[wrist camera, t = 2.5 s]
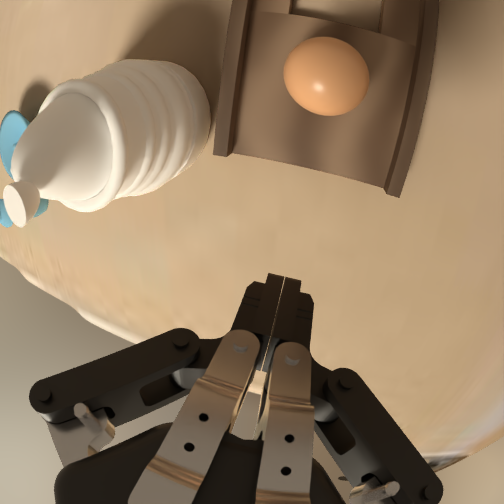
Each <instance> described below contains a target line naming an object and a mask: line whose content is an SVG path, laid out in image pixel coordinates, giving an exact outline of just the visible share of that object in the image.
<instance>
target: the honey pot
mask: <svg viewBox="0 0 504 504" xmlns="http://www.w3.org/2000/svg"><path fill="white" fill-rule="evenodd" d="M210 125H211V118H210V105H209V102H208V99H207V96H206V93H205V90H204V89H203V87H202V86H201V84H200V83H199V81H198V80H197V78H196V77H195V76H194V75H193V74H191V73H190V72H189V71H188V70H187V69H185V68H184V67H182V66H180V65H177V64H175V63H172V62H169V61H157V60H142V59H125V60H122V61H118V62H115V63H112V64H109V65H107V66H105V67H104V68H102V69H101V70H99V71H96V72H95V73H93V74H91V75H88V76H85V77H84V78H82V79H71V80H68V81H66V82H64V83H61V84H59V85H58V86H57V87H56V88H54V89H53V90H52V91H51V92H50V93H49V94H48V96H47V97H46V99H45V100H44V102H43V103H42V105H41V107H40V110H39V113H38V115H37V116H36V117H35V119H34V120H33V121H32V122H31V123H30V124H29V125H28V127H27V128H26V129H25V131H24V132H23V134H22V136H21V137H20V139H19V141H18V143H17V145H16V147H15V149H14V152H13V156H12V160H11V169H10V171H11V173H12V176H13V179H14V181H15V182H14V183H11V184H9V185H7V186H6V187H5V188H4V192H3V199H4V205H5V208H6V211H7V213H8V215H9V217H10V219H11V220H12V222H13V223H14V224H15V225H16V226H18V227H24V226H25V225H26V224H27V223H28V222H29V221H30V220H31V219H32V218H33V217H34V215H35V213H36V212H37V210H38V207H39V204H40V198H44V199H50V200H59V201H60V202H61V203H63V204H64V205H65V206H67V207H69V208H71V209H74V210H76V211H79V212H93V211H96V210H98V209H101V208H104V207H105V206H106V205H107V204H108V203H110V202H111V201H112V200H113V199H117V198H120V197H127V196H139V195H142V194H145V193H148V192H152V191H155V190H156V189H158V188H159V187H161V186H162V185H164V184H165V183H167V182H168V181H169V180H171V179H172V178H174V177H175V176H177V175H178V174H180V173H181V172H183V171H184V170H186V169H187V168H189V167H190V166H191V165H192V164H193V163H194V162H195V161H196V159H197V158H198V157H199V156H200V155H201V153H202V151H203V149H204V147H205V144H206V142H207V140H208V135H209V130H210Z"/></svg>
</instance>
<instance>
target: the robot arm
mask: <svg viewBox="0 0 504 504" xmlns="http://www.w3.org/2000/svg"><path fill="white" fill-rule="evenodd" d="M283 280H284V276H280V275H275V274H271V273H268V276H267V280H266V283H265V284H264V283H260V282H256V281H254V282H253V283H252V284H250V285H249V286H248V287H247V289H246V291H245V294H244V297H243V299H242V302H241V304H240V307H239V310H238V312H237V315H236V317H235V320H234V323H233V325H232V328H231V330H230V331H229V332H228V333H227V334H226V335H225V336H223V337H221V338H217V339H199V337H198V336H197V334H196V333H194V332H193V331H191V330H189V329H185V328H176V329H173V330H170V331H168V332H165V333H163V334H160V335H158V336H155V337H153V338H151V339H148V340H146V341H143V342H141V343H138V344H136V345H133V346H131V347H128V348H126V349H123V350H121V351H118V352H116V353H113V354H110V355H108V356H105V357H103V358H100V359H97V360H94V361H92V362H89V363H86V364H84V365H81V366H78V367H76V368H73V369H70V370H67V371H65V372H62V373H59V374H56V375H53V376H51V377H48V378H45V379H42V380H39V381H38V382H36V383H35V384H34V385H33V386H32V388H31V390H30V394H29V400H30V403H31V405H32V407H33V408H34V409H35V410H36V411H37V412H38V413H39V414H40V415H41V416H42V418H43V419H44V420H45V421H46V422H47V425H48V427H49V431H50V433H51V436H52V439H53V442H54V444H55V447H56V450H57V452H58V455H59V457H60V459H61V462H62V464H63V466H64V468H63V469H62V470H61V471H60V472H59V474H58V476H57V478H56V480H55V486H54V492H55V493H54V494H55V502H56V504H346V503H345V502H344V500H343V498H342V497H341V495H340V494H339V492H338V491H337V489H336V487H335V486H334V484H333V483H332V481H331V479H330V478H329V476H328V475H327V473H326V471H325V470H324V468H323V467H322V466H321V465H320V464H319V463H318V462H317V461H316V460H315V459H314V458H313V457H312V455H313V439H314V431H315V432H316V434H317V435H318V437H319V438H320V440H321V441H322V443H323V444H324V446H325V447H326V449H327V450H328V452H329V453H330V455H331V456H332V458H333V459H334V461H335V462H336V464H337V465H338V466H339V468H340V469H341V471H342V472H343V474H344V475H345V477H346V478H347V479H348V481H349V482H350V484H351V485H352V486H353V490H352V491H351V493H350V496H349V503H350V504H438V503H439V502H440V500H441V498H442V495H443V485H442V483H441V481H440V479H439V478H438V477H437V476H436V474H435V473H434V471H433V470H432V469H431V468H430V466H429V465H428V464H427V462H426V461H425V460H424V458H423V457H422V456H421V455H420V453H419V452H418V451H417V449H416V448H415V447H414V445H413V444H412V443H411V442H410V440H409V439H408V438H407V436H406V435H405V434H404V433H403V431H402V430H401V429H400V427H399V426H398V425H397V424H396V422H395V421H394V420H393V418H392V417H391V416H390V415H389V413H388V412H387V411H386V409H385V408H384V407H383V406H382V404H381V403H380V402H379V400H378V399H377V398H376V397H375V395H374V394H373V393H372V391H371V390H370V389H369V388H368V386H367V385H366V384H365V382H364V381H363V380H362V379H361V377H360V376H359V375H358V374H357V373H356V372H354V371H353V370H351V369H348V368H338V369H335V370H334V371H331V370H329V369H327V368H325V367H323V366H321V365H320V364H318V363H317V362H316V361H315V360H314V359H313V357H312V356H311V353H310V339H311V329H312V319H313V309H314V302H313V300H312V298H311V295H310V294H306V293H302V292H300V287H301V280H297V279H292V278H288V277H285V281H284V285H283ZM282 285H283V289H282ZM281 289H282V293H281ZM280 294H281V296H280ZM279 298H280V300H279ZM278 302H279V304H278ZM277 306H278V308H277ZM276 311H277V312H276ZM275 315H276V316H275ZM274 319H275V320H274ZM273 323H274V324H273ZM271 332H272V333H271ZM270 336H271V337H270ZM269 339H270V341H269ZM268 343H269V345H268ZM267 346H268V349H267ZM266 350H267V353H266ZM265 353H266V357H265ZM264 357H265V361H264V365H263V369H262V371H264V372H267V374H266V378H265V382H264V385H263V388H262V393H261V399H260V406H259V412H258V418H257V424H256V429H255V432H254V436H253V440H243V439H241V438H238V437H237V436H235V435H233V434H231V433H232V430H233V427H234V424H235V421H236V419H237V416H238V414H239V411H240V409H241V406H242V404H243V401H244V399H245V396H246V394H247V391H248V389H249V386H250V384H251V382H252V381H253V378H254V374H255V371H256V370H259V371H260V370H261V367H262V363H263V360H264ZM188 394H189V395H188ZM186 395H188V397H187V398H186V400H185V402H184V404H183V406H182V408H181V410H180V411H179V413H178V415H177V417H176V419H175V421H174V422H171V423H165V424H161V425H158V426H155V427H153V428H151V429H149V430H147V431H145V432H143V433H141V434H138V435H136V436H134V437H132V438H130V439H128V440H126V441H123V442H121V443H119V444H117V445H115V446H112V447H110V448H108V449H105V450H103V451H101V452H100V450H101V449H102V448H103V447H104V446H105V445H107V444H109V443H110V442H111V441H112V440H113V438H114V436H115V427H117V426H119V425H122V424H124V423H127V422H129V421H132V420H134V419H136V418H138V417H141V416H143V415H145V414H148V413H150V412H152V411H154V410H156V409H159V408H161V407H163V406H165V405H167V404H169V403H171V402H174V401H175V400H178V399H180V398H182V397H184V396H186Z"/></svg>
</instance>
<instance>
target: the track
mask: <svg viewBox="0 0 504 504" xmlns="http://www.w3.org/2000/svg"><path fill="white" fill-rule="evenodd" d="M292 4H293V0H233V1H232V7H231V13H230V19H229V26H228V32H227V39H226V46H225V53H224V60H223V68H222V76H221V84H220V92H219V101H218V110H217V119H216V129H215V139H214V150H213V155H218V156H224V157H227V156H228V155H230V154H231V153H234V154H240V155H246V156H252V157H257V158H262V159H268V160H273V161H278V162H283V163H287V164H292V165H297V166H301V167H305V168H310V169H314V170H318V171H322V172H326V173H330V174H334V175H338V176H342V177H346V178H350V179H353V180H357V181H361V182H364V183H368V184H371V185H374V186H378V187H381V188H384V190H385V192H386V194H388V195H391V196H395V197H398V198H399V197H400V194H401V192H402V188H403V185H404V182H405V179H406V176H407V173H408V169H409V166H410V163H411V159H412V156H413V152H414V149H415V145H416V141H417V138H418V134H419V130H420V126H421V122H422V117H423V113H424V108H425V104H426V99H427V94H428V89H429V84H430V78H431V72H432V66H433V59H434V52H435V45H436V36H437V26H438V13H439V0H382V6H381V15H380V23H379V30H378V33H376V32H373V31H369V30H366V29H362V28H359V27H355V26H351V25H347V24H342V23H338V22H333V21H329V20H324V19H318V18H312V17H306V16H300V15H292V14H291V10H292ZM315 37H332V38H336V39H339V40H342V41H344V42H346V43H348V44H349V45H351V46H352V47H353V48H355V49H356V50H357V51H358V52H359V54H360V55H361V56H362V58H363V59H364V61H365V63H366V65H367V68H368V71H369V79H370V82H369V88H368V92H367V94H366V96H365V98H364V99H363V101H362V102H361V103H360V104H359V105H358V106H357V107H356V108H354V109H353V110H351V111H349V112H347V113H345V114H342V115H337V116H324V115H319V114H315V113H313V112H310V111H308V110H306V109H305V108H303V107H302V106H300V105H299V104H298V103H297V102H296V101H295V100H294V99H293V98H292V96H291V95H290V93H289V92H288V90H287V88H286V85H285V81H284V73H283V72H284V65H285V61H286V59H287V57H288V55H289V53H290V52H291V51H292V50H293V49H294V48H295V47H296V46H297V45H298V44H300V43H301V42H303V41H305V40H308V39H310V38H315Z"/></svg>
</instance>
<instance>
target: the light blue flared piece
mask: <svg viewBox="0 0 504 504" xmlns="http://www.w3.org/2000/svg"><path fill="white" fill-rule="evenodd" d="M29 124H30V122H29V121H28V120H27V119H26V118H25V117H24V116H23V115H22V114H21V113H19V112H18V111H15V110H13V111H10V112H8V113H7V114H6V115H5V117H4V118H3V120H2V123H1V127H0V155H1V159H2V162H3V165H4V167H5V169H6V171H7V173H8V174H9V176H10V177H11V178H12V179H13V176H12V173H11V171H10V169H11V160H12V156H13V152H14V149H15V147H16V145H17V143H18V141H19V139H20V137H21V136H22V134H23V132H24V131H25V129H26V128H27V127H28V125H29ZM13 180H14V179H13ZM47 207H48V199H44V198H40V204H39V207H38V210H37V212H36V213H35V215H34V217H37V216H39V215H40V214H42V213H43V212H45V211H46V210H47ZM0 223H1V224H2V225H3V226H5V227H11V226H12V224H13V222H12V220H11V219H10V217H9V215H8V213H7V211H6V208H5V205H4V199H0Z"/></svg>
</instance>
